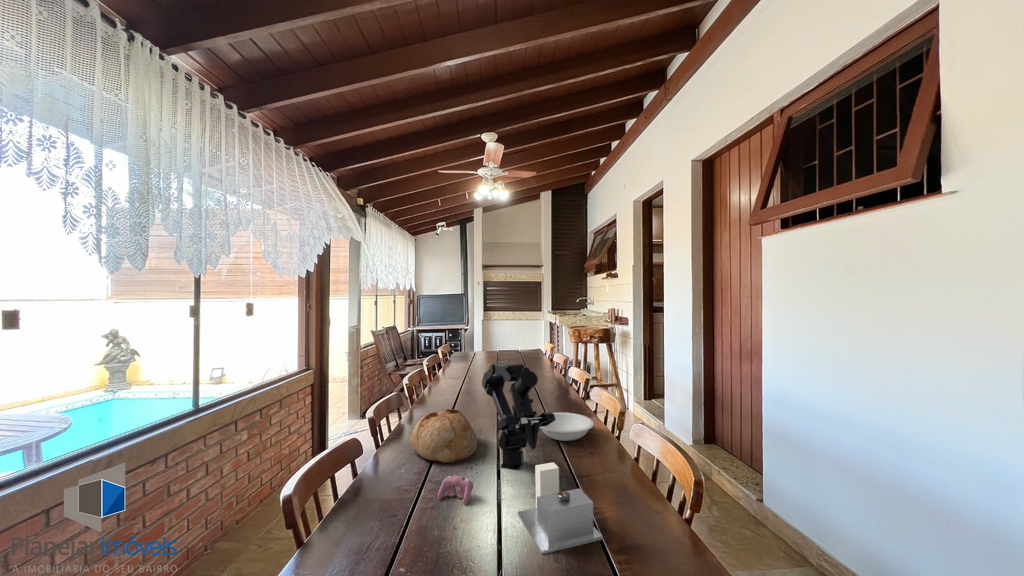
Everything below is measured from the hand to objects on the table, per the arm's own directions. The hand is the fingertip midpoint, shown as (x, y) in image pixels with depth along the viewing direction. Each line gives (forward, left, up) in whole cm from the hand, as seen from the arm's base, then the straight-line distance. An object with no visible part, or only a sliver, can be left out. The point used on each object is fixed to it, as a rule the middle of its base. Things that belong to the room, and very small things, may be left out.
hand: (533, 448), depth 115 cm
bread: (-41, +15, -13) cm, 46 cm away
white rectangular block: (+9, -12, -11) cm, 19 cm away
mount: (+11, -15, -12) cm, 22 cm away
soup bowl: (-1, +44, -13) cm, 46 cm away
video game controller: (-20, -12, -13) cm, 27 cm away
